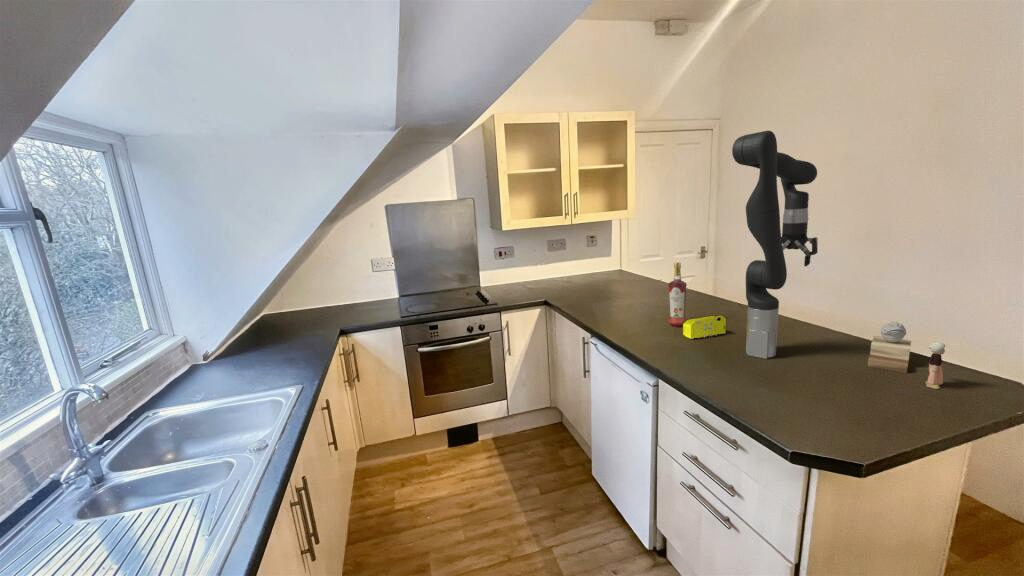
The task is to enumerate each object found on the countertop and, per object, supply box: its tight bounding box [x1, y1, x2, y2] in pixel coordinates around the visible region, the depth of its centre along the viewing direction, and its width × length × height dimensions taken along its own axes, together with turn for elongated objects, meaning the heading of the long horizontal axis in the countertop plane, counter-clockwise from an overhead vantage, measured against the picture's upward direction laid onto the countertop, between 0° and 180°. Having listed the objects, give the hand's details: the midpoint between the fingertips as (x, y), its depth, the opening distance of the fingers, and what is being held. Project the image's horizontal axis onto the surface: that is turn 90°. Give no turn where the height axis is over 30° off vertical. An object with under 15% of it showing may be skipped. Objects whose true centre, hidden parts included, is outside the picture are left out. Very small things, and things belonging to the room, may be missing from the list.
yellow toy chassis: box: [682, 315, 727, 340], centre depth 167 cm, size 16×6×8 cm, turn 103°
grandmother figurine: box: [925, 341, 946, 390], centre depth 114 cm, size 8×4×13 cm, turn 148°
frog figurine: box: [880, 321, 907, 343], centre depth 131 cm, size 6×7×7 cm
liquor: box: [668, 262, 688, 327], centre depth 180 cm, size 7×7×28 cm
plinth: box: [867, 335, 912, 374], centre depth 131 cm, size 14×9×6 cm, turn 135°
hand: (792, 265), depth 152 cm, fingers open, 8 cm apart
